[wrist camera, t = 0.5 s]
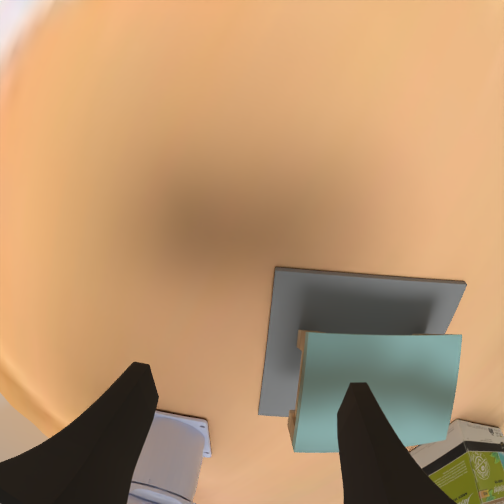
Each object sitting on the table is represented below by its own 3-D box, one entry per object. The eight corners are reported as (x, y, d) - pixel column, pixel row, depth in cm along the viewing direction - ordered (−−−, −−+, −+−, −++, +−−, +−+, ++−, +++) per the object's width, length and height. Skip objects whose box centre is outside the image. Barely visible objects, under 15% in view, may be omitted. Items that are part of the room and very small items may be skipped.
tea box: (501, 424, 29) (526, 499, 16) (454, 458, 33) (470, 530, 20) (457, 416, 27) (485, 518, 14) (400, 455, 31) (413, 547, 18)
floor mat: (395, 412, 26) (396, 415, 26) (258, 411, 27) (258, 414, 26) (464, 281, 18) (467, 284, 18) (275, 267, 19) (275, 270, 19)
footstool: (413, 420, 19) (445, 439, 14) (287, 424, 19) (294, 452, 14) (425, 333, 20) (462, 334, 15) (298, 329, 21) (309, 332, 16)
